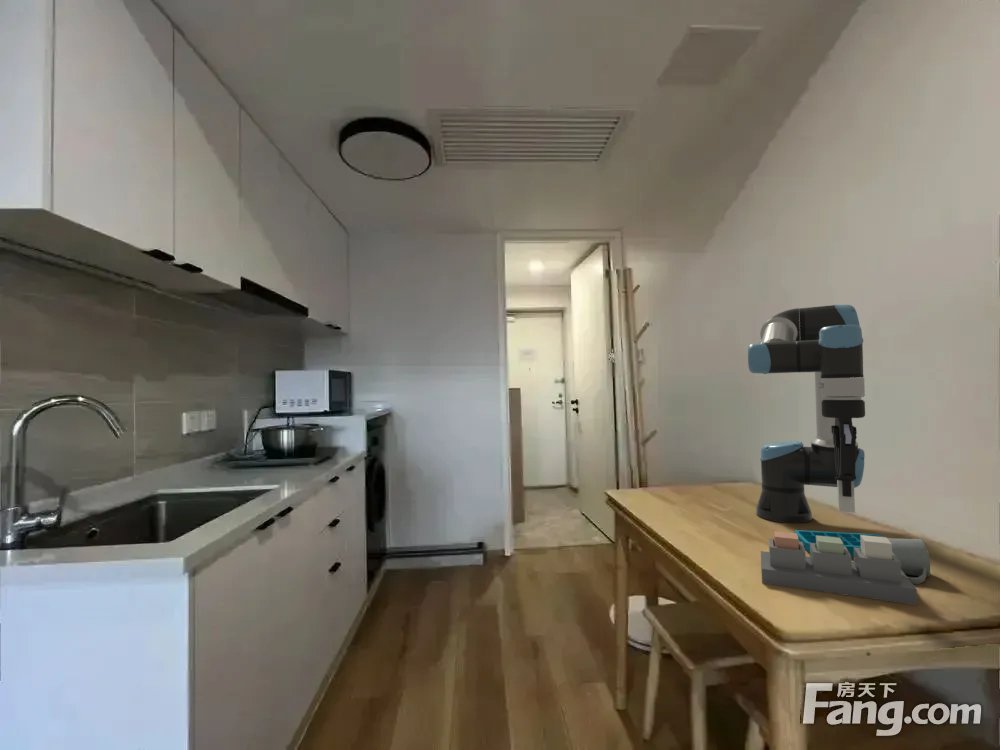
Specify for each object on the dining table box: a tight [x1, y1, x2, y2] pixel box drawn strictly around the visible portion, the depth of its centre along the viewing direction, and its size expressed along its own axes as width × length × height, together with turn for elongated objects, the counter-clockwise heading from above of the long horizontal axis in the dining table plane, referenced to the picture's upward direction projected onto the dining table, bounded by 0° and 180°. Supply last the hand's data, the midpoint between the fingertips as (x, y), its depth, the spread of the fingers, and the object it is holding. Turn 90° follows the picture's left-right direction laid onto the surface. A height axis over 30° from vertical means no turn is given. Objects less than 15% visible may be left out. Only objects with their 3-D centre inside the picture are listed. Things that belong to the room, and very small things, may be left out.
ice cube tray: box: [793, 529, 885, 558], centre depth 124 cm, size 12×20×3 cm, turn 74°
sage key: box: [816, 535, 844, 554], centre depth 105 cm, size 4×4×4 cm
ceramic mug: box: [886, 537, 931, 585], centre depth 107 cm, size 11×8×8 cm
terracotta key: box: [773, 531, 799, 549], centre depth 108 cm, size 4×4×4 cm
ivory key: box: [860, 535, 892, 560], centre depth 101 cm, size 4×4×4 cm
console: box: [760, 537, 918, 606], centre depth 105 cm, size 12×26×7 cm, turn 63°
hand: (846, 511), depth 103 cm, fingers closed
